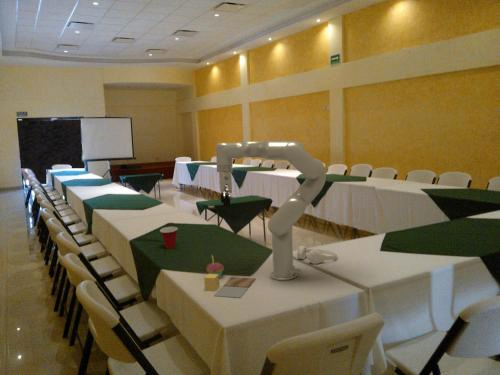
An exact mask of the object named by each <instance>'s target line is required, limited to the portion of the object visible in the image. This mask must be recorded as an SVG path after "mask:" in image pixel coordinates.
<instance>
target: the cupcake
mask: <svg viewBox="0 0 500 375" xmlns="http://www.w3.org/2000/svg"><path fill="white" fill-rule="evenodd" d="M211 259H212V260H211V261H212V262H211V263H209V264H207V266H206V268H205V270H206V272H207V273H208V274H219V279H221V277H222V273H223V271H224V270H225V267H224V265H223V263H220V262H217V261H216V262H215V260H214V255H211Z"/></svg>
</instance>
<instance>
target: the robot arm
mask: <svg viewBox="0 0 500 375" xmlns="http://www.w3.org/2000/svg"><path fill="white" fill-rule="evenodd" d="M215 152H216V153H215V154H216V157H215V158H216V173H218V174H219V175H218V178H219V191H220V203H221V204H222V205H223V207H231V196H230V194H232V193H233V187H232V186H233V183H232V182H233V181H232V173H233V171H234V170H233V159H237V160H238V159H243V158H260V159H261V158H263V159H265V160H271V161H272V160H273V161H274V160H275V161H276V160H277V161H278V160H280V161H281V160H282V161H288V162H289V163H290V164H291V165H292V166H293V167H294V168H295V169H296V170H297V171H298V172H299V173H300V174H301V175H302V176H303V177H305V180H304V181H303V183H301V184H300V186H299V187H298V188H297V190H295V192H294V193H293V194H292V195H290V196H289V197H288V198H287V199H286V200H285V201H284V202H283V204H282V205H281V206H280V207H279V208H278V209H277V211H275V212H274V213H273V214H272V215H271V217H270V218H269V220H268V223H267V227H268V230H269V232H270V233H271V244H272V245H271V246H272V248H271V249H272V250H271V251H272V268H273V269H272V270H273V271H271V272H270V275H269V276H270V278H271V279H273V280H275V281H290V280H289V279H291V280H293V278H294V279H295V278H297V276H298V275H303V269H301V268H296V266H295V265H294V253H293V251H294V250H293V246H294V245H293V226H294V225H295V224H296V223H297V222H298V220H299V219H300V218H301V217H302V216H303V215H304V214H305V211H306V209H307V208H308V206H309V205H310V204H311V203H312V202H313V201H314V200H315V198H316V197H317V196H318V195H319V194H320V192H321V191H322V189H323V188H324V186H325V183H326V179H327V172H326V171H327V170H326V168H325V165H324V163H323V162H322V161H321V160H320V159H319V158H314V157H313V156H312V155H311V154H310V153H308V152H307V151H306V150H305V147H304V145H303V143H301V142H300V141H297V140H290V141H289V140H265V141H238V142H218V143H216V146H215Z"/></svg>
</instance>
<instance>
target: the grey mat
mask: <svg viewBox="0 0 500 375" xmlns="http://www.w3.org/2000/svg"><path fill="white" fill-rule="evenodd" d="M248 290H249V288H246V287H232V286H224V285H222V287H221V288H220V289H218V290H217V292H216V293H215V294H214V295H213V297H217V298H218V297H220V298H231V297H233V299H241V298H242V297H243V296H244V294H245V293H246V292H247V291H248Z"/></svg>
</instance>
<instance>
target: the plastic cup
mask: <svg viewBox="0 0 500 375" xmlns="http://www.w3.org/2000/svg"><path fill="white" fill-rule="evenodd" d="M178 228H179V227H176V226H166V227H163V228H161V229H160V230H159V232H160V233H161V236H162V239H163V243H164V247H165V249H167V250H169V249H170V250H171V249H175V248H176V243H177V234H178V230H179V229H178Z"/></svg>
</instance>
